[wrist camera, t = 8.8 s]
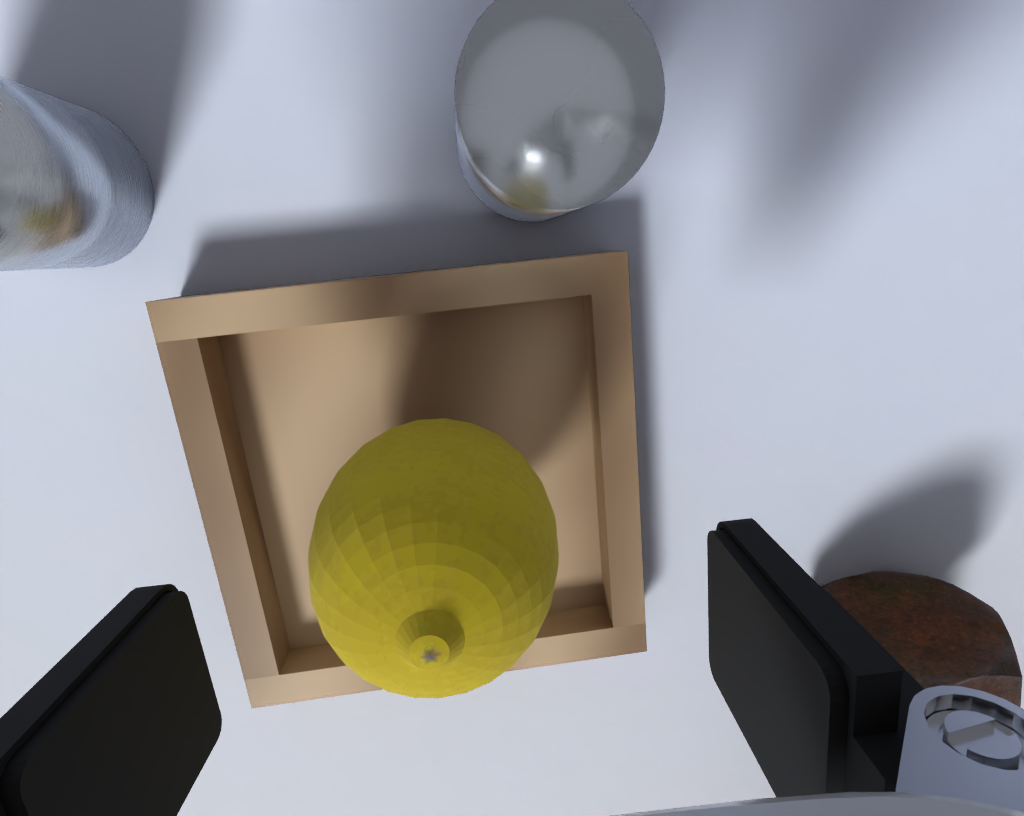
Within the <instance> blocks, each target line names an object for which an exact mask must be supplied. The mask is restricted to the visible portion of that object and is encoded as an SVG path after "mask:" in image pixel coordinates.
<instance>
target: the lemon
mask: <svg viewBox="0 0 1024 816" xmlns="http://www.w3.org/2000/svg"><path fill="white" fill-rule="evenodd" d="M558 565H559V551H558V539H557V527H556V519H555V515H554V512H553V509H552V506H551V504H550V501H549V498H548V496H547V493H546V491H545V488H544V486H543V483H542V481H541V480H540V478H539V477H538V475H537V474H536V473H535V471H534V470H533V469H532V467H531V466H530V464H529V463H528V462H527V460H526V459H525V458H524V456H523V455H522V454H521V453H520V452H519V451H518V450H516V449H515V448H514V447H513V446H511V445H510V444H509V443H508V442H506V441H505V440H504V439H503V438H502V437H500V436H499V435H498V434H495V433H493V432H491V431H489V430H487V429H484V428H482V427H480V426H478V425H475V424H473V423H469V422H463V421H458V420H452V419H447V418H442V419H423V420H416V421H413V422H409V423H406V424H403V425H400V426H396V427H393V428H390V429H389V430H387V431H385V432H384V433H382V434H380V435H379V436H377V437H376V438H374V439H372V440H371V441H369V442H367V443H366V444H364V445H363V446H362V447H361V448H360V449H359V450H358V451H357V452H356V453H355V454H354V455H353V456H352V457H351V458H350V459H349V460H348V461H347V462H346V463H345V464H344V465H343V466H342V467H341V468H340V469H339V471H338V472H337V474H336V475H335V477H334V479H333V480H332V482H331V484H330V486H329V488H328V490H327V491H326V493H325V495H324V497H323V499H322V501H321V502H320V505H319V507H318V510H317V514H316V518H315V522H314V527H313V531H312V536H311V541H310V545H309V553H308V569H309V584H310V596H311V603H312V605H313V608H314V611H315V614H316V616H317V619H318V622H319V625H320V627H321V630H322V633H323V635H324V637H325V639H326V640H327V641H328V643H329V644H330V645H331V647H332V648H333V650H334V651H335V652H336V654H337V655H338V656H339V658H340V659H341V660H342V661H343V663H344V664H345V665H347V666H348V667H349V668H350V669H351V670H353V671H354V672H355V673H356V674H357V675H359V676H360V677H361V678H362V679H364V680H365V681H367V682H369V683H371V684H373V685H376V686H378V687H380V688H382V689H384V690H386V691H388V692H392V693H396V694H401V695H405V696H410V697H414V698H442V697H447V696H452V695H457V694H462V693H466V692H469V691H471V690H473V689H475V688H478V687H480V686H482V685H485V684H487V683H489V682H491V681H492V680H494V679H495V678H497V677H498V676H499V675H501V674H502V673H503V672H505V671H506V670H508V669H509V668H510V667H512V666H513V665H514V664H515V663H516V662H517V660H518V659H519V658H520V657H521V656H522V655H523V653H524V652H525V651H526V650H527V649H528V648H529V646H530V645H531V644H532V643H533V642H534V640H535V638H536V636H537V634H538V632H539V630H540V628H541V626H542V624H543V622H544V620H545V618H546V616H547V614H548V611H549V609H550V606H551V602H552V598H553V593H554V588H555V582H556V577H557V572H558Z"/></svg>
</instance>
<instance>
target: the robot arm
mask: <svg viewBox="0 0 1024 816" xmlns="http://www.w3.org/2000/svg"><path fill="white" fill-rule="evenodd" d="M707 546H708V617H709V662H710V667H711V671H712V675H713V678H714V680H715V682H716V684H717V686H718V688H719V690H720V691H721V693H722V695H723V697H724V699H725V701H726V703H727V705H728V707H729V708H730V710H731V712H732V714H733V716H734V718H735V720H736V722H737V724H738V725H739V727H740V729H741V731H742V733H743V735H744V737H745V739H746V740H747V742H748V744H749V746H750V748H751V750H752V752H753V754H754V756H755V757H756V759H757V761H758V763H759V765H760V767H761V769H762V771H763V773H764V774H765V776H766V778H767V780H768V782H769V784H770V786H771V788H772V790H773V791H774V793H775V795H776V797H777V798H764V799H752V800H744V801H735V802H726V803H717V804H709V805H700V806H691V807H682V808H673V809H665V810H656V811H647V812H638V813H630V814H621V815H612V816H1024V709H1022V708H1020V707H1018V706H1017V705H1015V704H1013V703H1011V702H1009V701H1007V700H1005V699H1003V698H1000V697H997V696H995V695H992V694H989V693H987V692H984V691H980V690H976V689H971V688H966V687H962V686H942V685H941V686H936V687H931V688H926V689H924V688H923V687H922V686H921V685H920V684H919V683H918V682H917V681H916V680H915V679H914V678H913V677H912V676H911V675H910V674H909V673H908V672H907V671H906V670H905V669H904V668H903V667H902V666H901V665H900V664H899V663H898V662H897V661H896V660H895V659H894V658H893V657H892V656H891V655H890V654H889V653H888V652H887V651H886V650H885V649H884V648H883V647H882V646H881V645H880V644H879V643H878V642H877V641H876V640H875V639H874V638H873V637H872V636H871V635H870V634H869V633H868V632H867V631H866V630H865V629H864V628H863V627H862V626H861V625H860V624H859V623H858V622H857V621H856V620H855V619H854V618H853V616H852V615H851V614H850V613H849V612H848V611H847V610H846V609H845V608H844V607H843V606H842V605H841V604H840V603H839V602H838V601H837V600H836V599H835V598H834V597H833V596H832V595H831V594H830V593H829V592H827V591H826V590H825V589H823V588H822V587H820V586H819V585H818V584H817V583H816V582H815V581H814V580H813V579H812V578H811V577H810V576H809V575H808V574H807V573H806V572H805V571H804V570H803V569H802V568H801V567H800V566H799V565H798V564H797V563H796V562H795V561H794V560H793V559H792V558H791V557H790V556H789V555H788V554H787V553H786V552H785V551H784V550H783V549H782V548H781V547H780V546H779V545H778V544H777V543H776V542H775V541H774V540H773V539H772V538H771V537H770V536H769V535H768V533H767V532H766V531H765V530H764V529H763V528H762V527H761V526H760V525H759V524H758V523H757V522H756V521H755V520H753V519H752V518H751V519H741V520H732V521H723V522H719V523H718V525H717V529H716V531H710V532H709V533H708V539H707ZM221 725H222V718H221V713H220V709H219V706H218V702H217V698H216V695H215V691H214V688H213V684H212V681H211V677H210V674H209V670H208V666H207V663H206V659H205V656H204V652H203V649H202V645H201V642H200V638H199V634H198V631H197V627H196V624H195V620H194V617H193V613H192V610H191V606H190V602H189V599H188V597H187V595H186V594H185V592H183V591H178V589H177V588H176V587H175V586H174V585H172V584H166V585H157V586H148V587H140V588H135V589H134V590H132V591H131V592H130V593H129V594H128V595H127V596H126V597H125V598H124V599H123V600H122V601H121V602H119V603H118V604H117V605H116V606H115V607H114V608H113V609H112V610H111V611H110V612H109V613H108V614H107V615H106V616H105V617H104V618H103V619H102V620H101V621H100V622H99V623H98V624H97V625H96V626H95V627H94V628H93V629H92V630H91V631H90V632H89V633H88V634H87V635H86V636H85V637H84V638H82V639H81V640H80V641H79V642H78V643H77V644H76V645H75V646H74V647H73V648H72V649H71V650H70V651H69V652H68V653H67V654H66V655H65V656H64V657H63V658H62V659H61V660H60V661H59V662H58V663H57V664H56V665H55V666H54V667H53V668H52V669H51V670H50V671H49V672H48V673H47V674H46V675H44V676H43V677H42V678H41V679H40V680H39V681H38V682H37V683H36V684H35V685H34V686H33V687H32V688H31V689H30V690H29V691H28V692H27V693H26V694H25V695H24V696H23V697H22V698H21V699H20V700H19V701H18V702H17V703H16V704H15V705H14V706H13V707H12V708H11V709H10V710H9V711H8V712H6V713H5V714H4V715H3V716H2V717H1V718H0V816H177V814H178V812H179V810H180V808H181V806H182V805H183V803H184V801H185V799H186V797H187V795H188V794H189V792H190V790H191V788H192V786H193V784H194V782H195V781H196V779H197V777H198V775H199V773H200V771H201V770H202V768H203V766H204V764H205V762H206V760H207V758H208V757H209V755H210V753H211V751H212V749H213V747H214V746H215V744H216V742H217V740H218V738H219V735H220V731H221Z"/></svg>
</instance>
